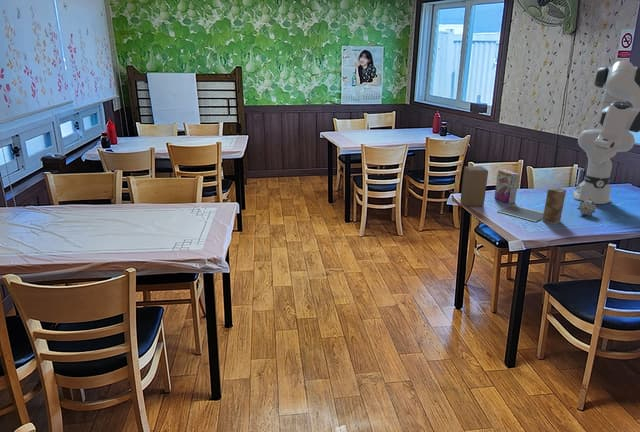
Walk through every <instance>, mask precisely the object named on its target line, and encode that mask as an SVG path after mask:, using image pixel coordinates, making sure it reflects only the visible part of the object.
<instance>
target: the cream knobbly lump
mask: <svg viewBox="0 0 640 432" xmlns="http://www.w3.org/2000/svg"><path fill="white" fill-rule="evenodd" d="M590 200H591V199H589V200H588V201H583V200H582V201H581V202H579V206H578V207H577V208H576V210H578V211H579V212H580V214H582V215H583V217H586V216H587V215H591V216H593V213H596V211H595V210H596V208H598V207H599V206H598V205H596V204H594V202H593V203H592V202H591V201H590Z"/></svg>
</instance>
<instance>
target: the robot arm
mask: <svg viewBox="0 0 640 432" xmlns="http://www.w3.org/2000/svg"><path fill="white" fill-rule="evenodd" d="M593 82H594V83H593V84H594V86H595V87H596V88H599V89H602V88H605V89H604V92H603V95H602V98H601V102H600V107H599V111H598V123H599V124H600V125H601V127H602V128H601V129H596V128H595V129H585V130H582V131H581V132H580V133H579V134H578V137H577V144H578V146H579V147H580V148H581V149H582V150H583V151H584V152H585V153H586V157H587V159H588V160H587V161H588V163H587V169H586V173H585V175H584V177H583V181H581V182H580V183H579V184H578V185H575V190H573V191H572V195H573V199H574V200H576V201H581V202H583V201H588V200H589V199H591V200H590V201H591V202H592V203H593V202H594V203H593V204H594V205H603V204H605V205H606V204H608V203H612V201H613V200H612V198H611V197H610V195H611V190H612V187H611V186H610V182H611V173H612V168H613V162H612V160H611V159H612V158H614V157H615V156H616V155H617V153H623V152H629V151H630V150H632V148H633V147H634V146H635V140H636V139H635V136H634V134H633V133H639V132H640V66H638V65H637V66H634V65H633V63H632V62H630V61H629V60H625V59H624V60H618V61H616V62H614V63H613V65H611V66H601V67H599V68H598V69H597V70H596V71H595V73H594V75H593ZM582 200H583V201H582Z"/></svg>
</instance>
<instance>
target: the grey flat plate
mask: <svg viewBox="0 0 640 432" xmlns="http://www.w3.org/2000/svg"><path fill="white" fill-rule="evenodd" d="M496 213H498V214H499V213H500V214H503V215H505V216H510V217H513V218H517V219H521V220H525V221H529V222H533V223H538V222H540V221H541V219H542V220H543V214H544V211H543V212H542V211H538V210H534V209H530V208H526V207H522V206H520V205H519V206H518V205H514V204H511V205H509V206H507V207H504V208H502V209H499V210H496ZM539 220H540V221H539Z"/></svg>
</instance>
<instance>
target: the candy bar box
mask: <svg viewBox="0 0 640 432" xmlns="http://www.w3.org/2000/svg"><path fill="white" fill-rule="evenodd" d="M496 176H497V177H496V182H495V183H496V184H495V185H496V186H495V190H494V191H495V193H494V197H493V198H494V199H497V200H499V201H501V202H503V203H506V204H514V203H515V202H516V197H517V191H518V185H519V178H520V174H519V173H516V172H513V171H511V170H509V169H508V170H507V169H499V170H498V171H497V175H496Z"/></svg>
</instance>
